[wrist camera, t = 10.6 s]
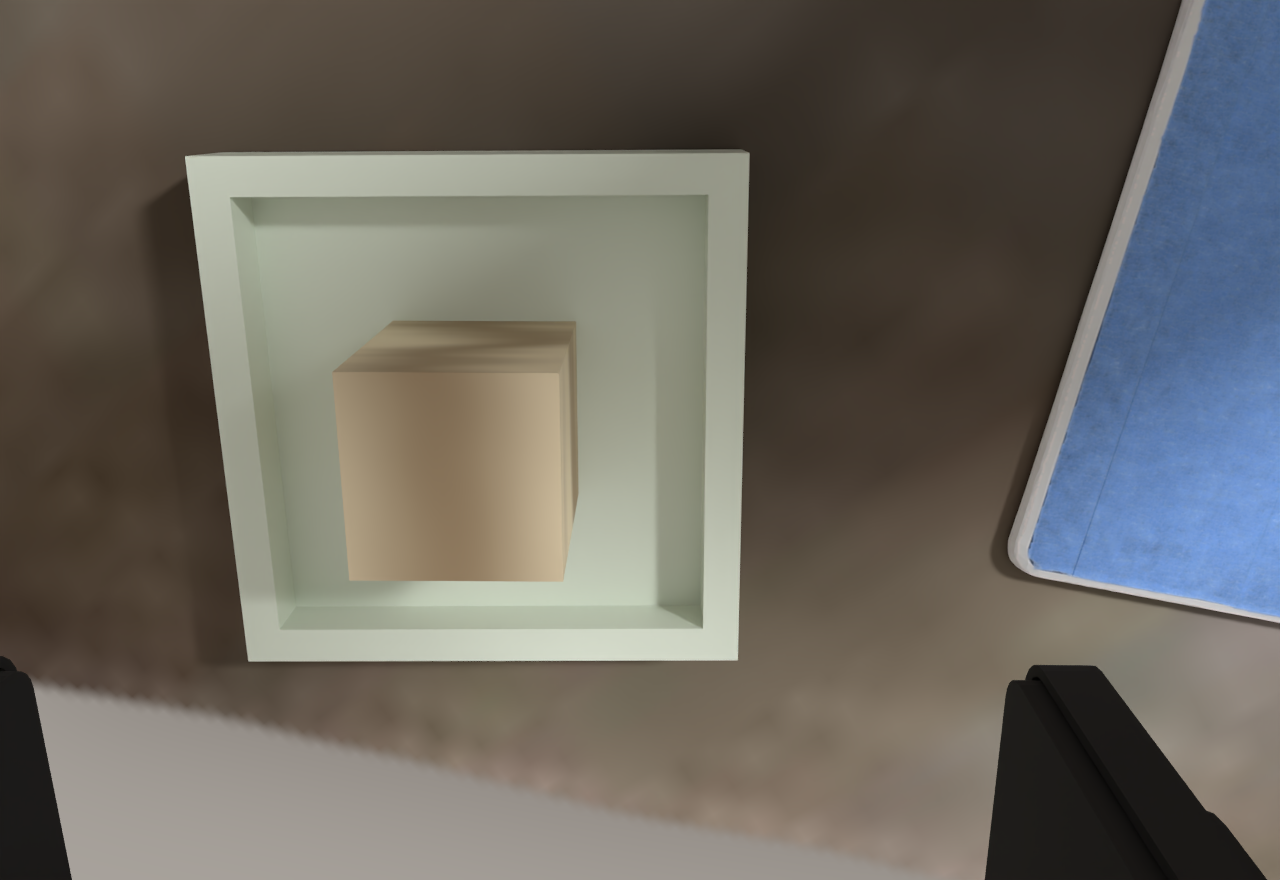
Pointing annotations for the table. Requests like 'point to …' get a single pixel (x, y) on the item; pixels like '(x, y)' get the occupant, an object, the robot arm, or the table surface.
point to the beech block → (459, 451)
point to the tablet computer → (1179, 347)
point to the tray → (485, 291)
